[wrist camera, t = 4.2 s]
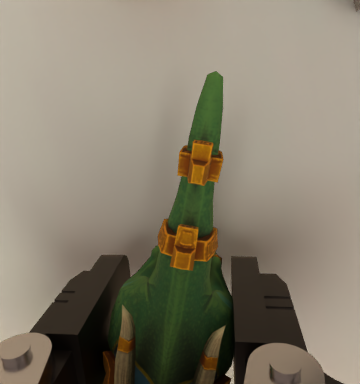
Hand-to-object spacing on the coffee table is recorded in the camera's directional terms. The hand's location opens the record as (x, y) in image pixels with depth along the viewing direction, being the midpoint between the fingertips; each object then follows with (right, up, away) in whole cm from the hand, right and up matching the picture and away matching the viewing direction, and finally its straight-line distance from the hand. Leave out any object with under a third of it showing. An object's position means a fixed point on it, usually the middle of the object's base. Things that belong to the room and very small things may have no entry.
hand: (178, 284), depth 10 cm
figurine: (0, 0, +1) cm, 1 cm away
